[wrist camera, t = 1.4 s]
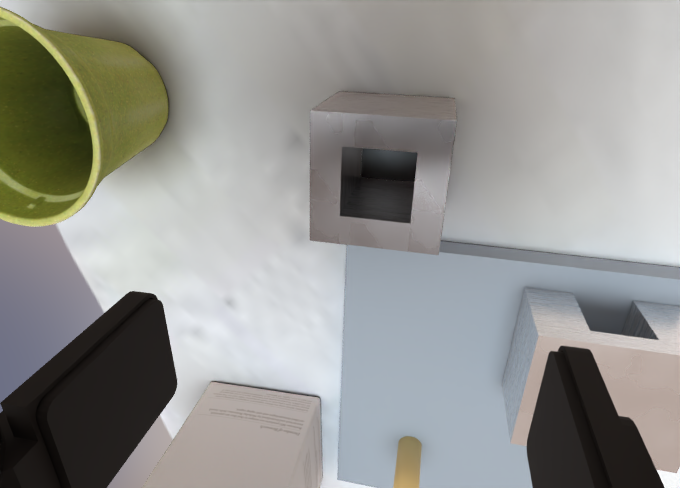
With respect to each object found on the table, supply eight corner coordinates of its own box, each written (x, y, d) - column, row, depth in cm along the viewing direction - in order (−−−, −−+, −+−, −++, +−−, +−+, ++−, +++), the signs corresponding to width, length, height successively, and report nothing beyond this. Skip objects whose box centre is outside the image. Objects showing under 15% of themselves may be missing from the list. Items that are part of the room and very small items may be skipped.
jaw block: (339, 91, 25) (310, 110, 20) (454, 98, 24) (456, 120, 19) (336, 197, 28) (309, 240, 22) (440, 208, 27) (438, 255, 21)
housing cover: (524, 287, 26) (538, 335, 22) (685, 306, 24) (731, 362, 21) (501, 384, 29) (510, 443, 25) (643, 407, 28) (676, 473, 24)
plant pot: (24, 21, 27) (-144, 21, 19) (170, -8, 25) (45, -20, 17) (83, 178, 31) (-39, 231, 23) (214, 166, 28) (128, 221, 21)
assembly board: (351, 230, 28) (317, 307, 21) (681, 266, 25) (781, 372, 18) (341, 462, 37) (314, 576, 29) (585, 510, 34) (625, 651, 26)
